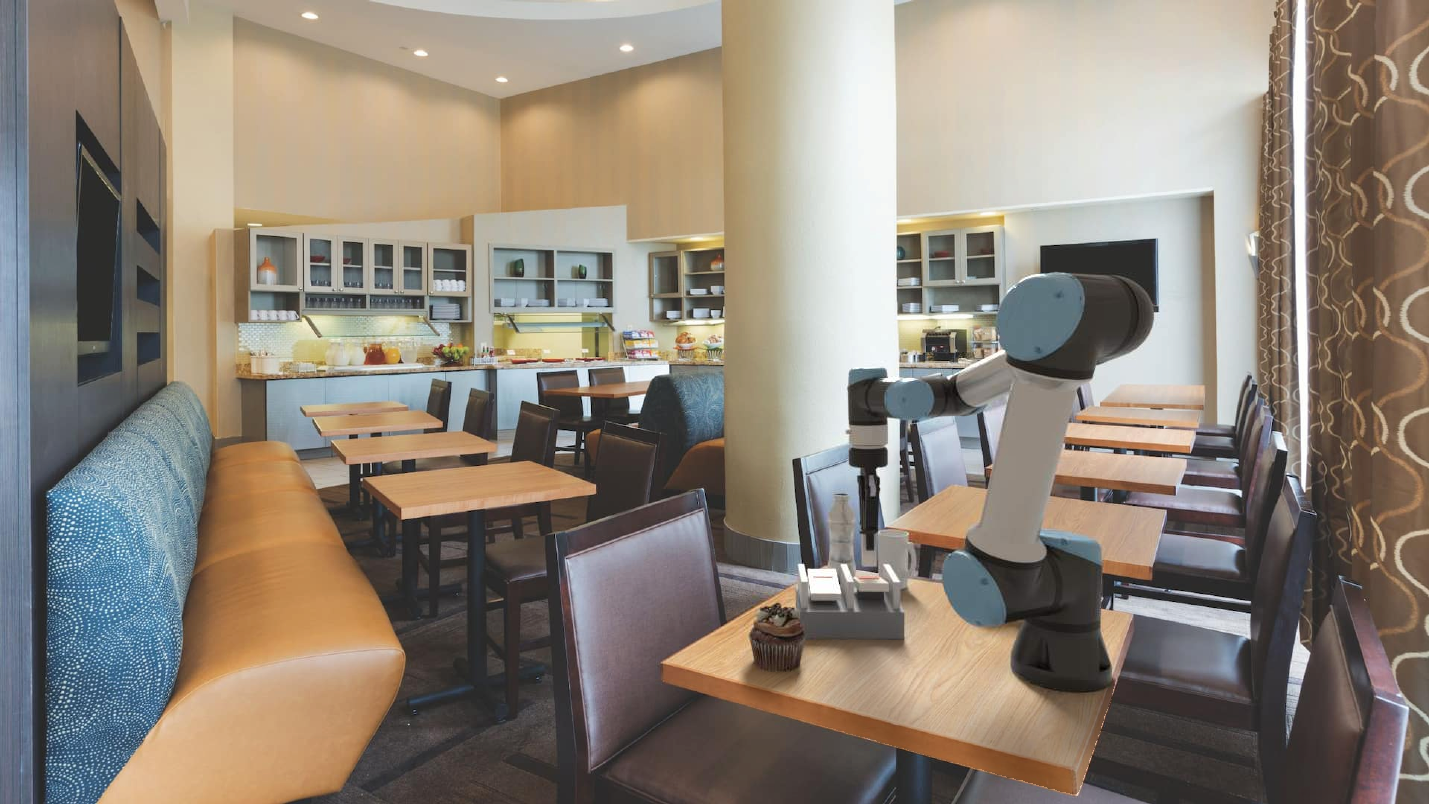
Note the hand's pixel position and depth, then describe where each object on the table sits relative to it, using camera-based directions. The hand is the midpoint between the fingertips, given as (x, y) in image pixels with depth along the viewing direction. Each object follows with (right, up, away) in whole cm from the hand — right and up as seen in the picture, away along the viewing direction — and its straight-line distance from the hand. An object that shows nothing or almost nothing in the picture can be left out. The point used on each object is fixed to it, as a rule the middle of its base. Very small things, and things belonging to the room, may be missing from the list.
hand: (869, 565), depth 152 cm
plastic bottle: (-1, -9, +26) cm, 27 cm away
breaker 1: (-9, -4, -2) cm, 10 cm away
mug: (+10, -9, +20) cm, 24 cm away
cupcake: (-20, -12, -20) cm, 31 cm away
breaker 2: (0, -4, -3) cm, 5 cm away
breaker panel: (-5, -11, -2) cm, 12 cm away
